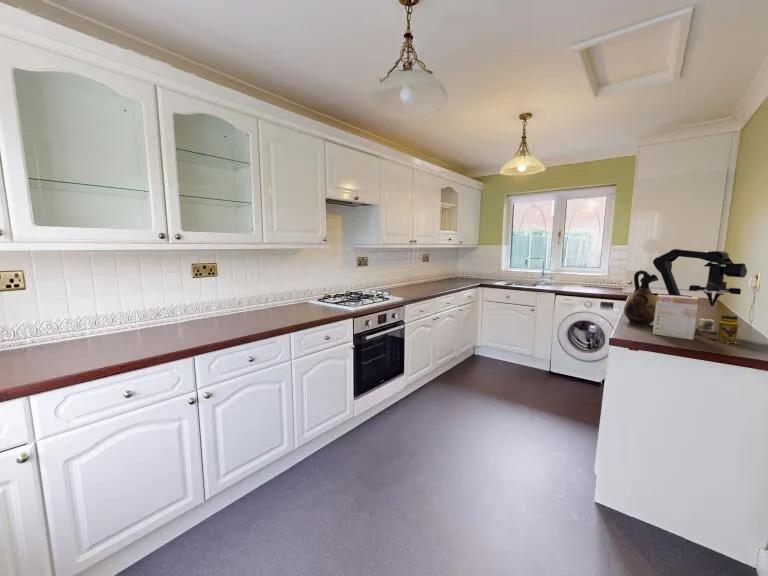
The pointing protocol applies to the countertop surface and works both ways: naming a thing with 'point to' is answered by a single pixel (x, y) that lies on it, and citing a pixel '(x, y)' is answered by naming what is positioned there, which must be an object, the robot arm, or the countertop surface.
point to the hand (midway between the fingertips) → (711, 306)
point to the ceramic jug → (641, 301)
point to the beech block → (706, 325)
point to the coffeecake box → (675, 316)
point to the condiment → (727, 329)
